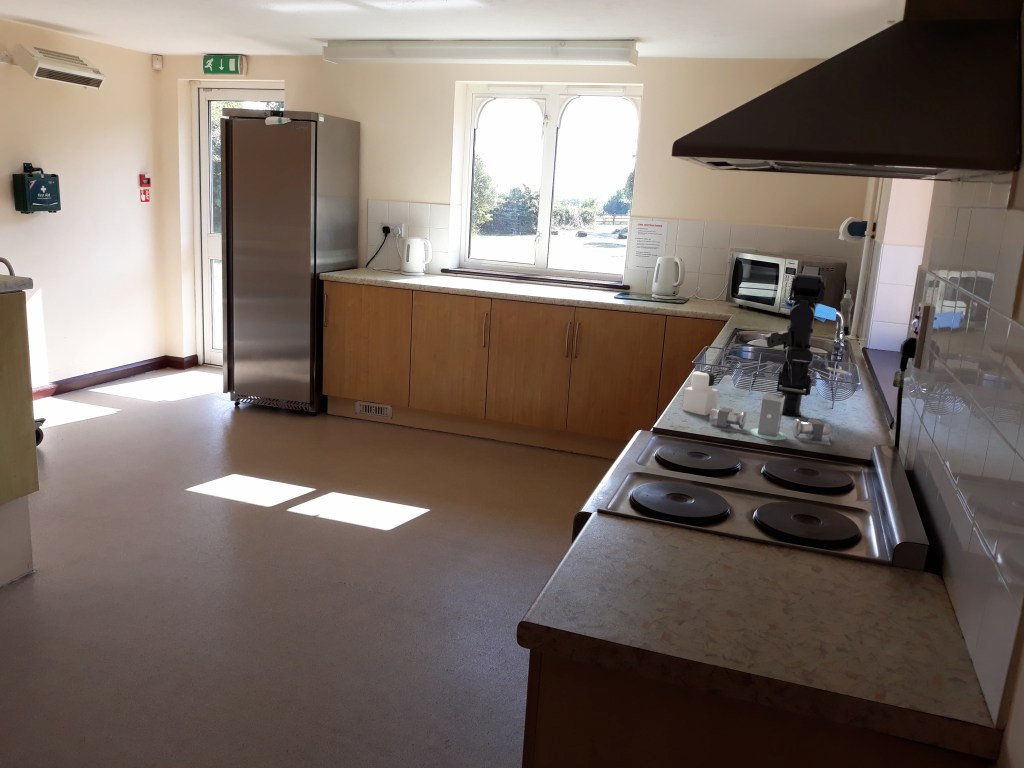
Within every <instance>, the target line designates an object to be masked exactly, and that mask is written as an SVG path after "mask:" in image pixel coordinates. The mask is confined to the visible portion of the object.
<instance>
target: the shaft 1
mask: <svg viewBox="0 0 1024 768" xmlns="http://www.w3.org/2000/svg"><path fill="white" fill-rule="evenodd" d="M709 418H710V420H714V421H717V426H716V427H719V428H724V429H726V428H727V427H728V426H730V424H734V425H739V428H740V429H743V428H744V425H745V422H746V421H747V412H745V411H742V412H741V413H738V412H737V413H736V412H733V408H730V407H725V406H723V407H721V408H720V409H717V408H716V409H712V410H711V412H710V414H709ZM746 423H747V422H746Z"/></svg>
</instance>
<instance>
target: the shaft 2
mask: <svg viewBox="0 0 1024 768" xmlns="http://www.w3.org/2000/svg"><path fill="white" fill-rule="evenodd" d="M791 427H792V428H791V429H792V432H793V435H794V436H799V434H806V436H807V437H808V438H809V439H811V440H812V441H822V435H825V436H828V437H830V435H831V432H832V427H831V424H830V423H823V422H821V421H820V420H819V419H817V418H808V419H807V422H806V421H801V420H800V418H795V419H793V421H792V425H791Z"/></svg>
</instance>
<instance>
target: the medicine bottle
mask: <svg viewBox="0 0 1024 768" xmlns="http://www.w3.org/2000/svg"><path fill="white" fill-rule="evenodd" d="M715 377H716V376H715V374H714V373H713V372H710V371H708V370H695V371H693V372H692V376H691V383H690V386H688V387H685V388H684V389H683V396H682V397H683V398H682V404H681V405H682V406H681V410H682V411H686V412H689V413H693V414H698V415H702V416H706V415H707V416H708V415H710V412H711V410H712V409H717V406H718V399H719V390H718V389H715V388H714V383H715Z"/></svg>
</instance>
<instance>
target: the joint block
mask: <svg viewBox="0 0 1024 768" xmlns="http://www.w3.org/2000/svg"><path fill="white" fill-rule="evenodd" d="M784 399H785V395H781V394H779V393H772V392H765V393H764V394H763V395H762V401H761V408H760V416H759V421H758V424H759V427H758V434H761V435H766V436H771V437H776V436H777V435H778V434H779V430H780V427H781V423H782V418H783V417H782V416H783V414H782V411H783V404H784Z"/></svg>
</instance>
